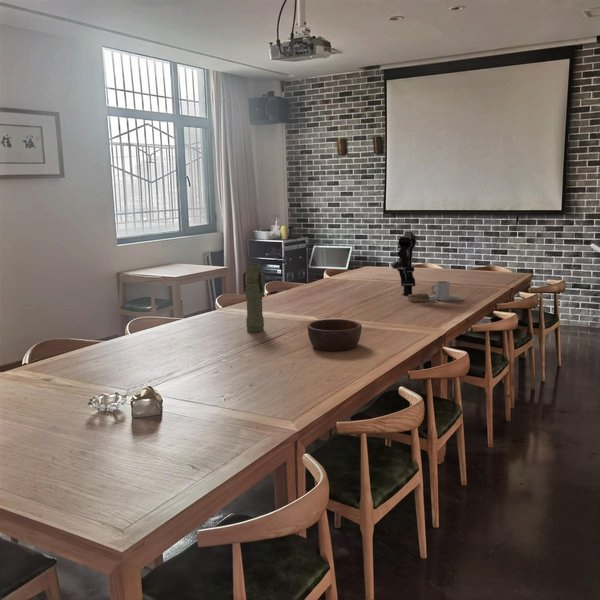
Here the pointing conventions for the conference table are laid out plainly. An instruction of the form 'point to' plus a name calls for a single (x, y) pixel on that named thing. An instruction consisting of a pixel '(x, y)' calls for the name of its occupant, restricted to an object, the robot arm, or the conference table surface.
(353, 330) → the wooden bowl
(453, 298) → the mat
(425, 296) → the panel
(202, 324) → the conference table surface
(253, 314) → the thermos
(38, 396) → the conference table surface
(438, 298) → the mug
